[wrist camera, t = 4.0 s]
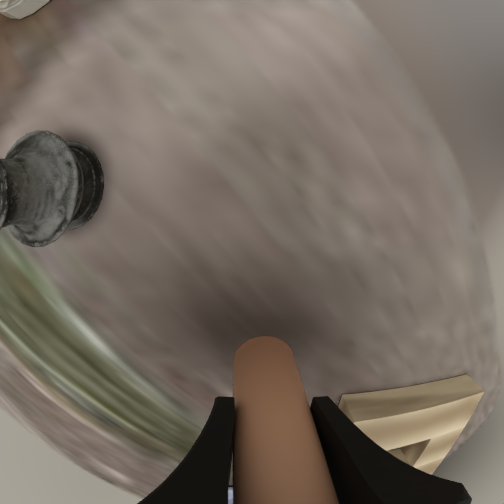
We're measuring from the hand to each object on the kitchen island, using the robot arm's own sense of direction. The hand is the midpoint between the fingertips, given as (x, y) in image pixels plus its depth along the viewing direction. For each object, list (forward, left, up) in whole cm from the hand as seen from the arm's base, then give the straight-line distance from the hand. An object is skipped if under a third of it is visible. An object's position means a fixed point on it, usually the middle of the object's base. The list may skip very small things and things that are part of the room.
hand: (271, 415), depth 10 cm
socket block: (-12, -13, -7) cm, 19 cm away
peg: (0, 0, -4) cm, 4 cm away
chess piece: (+8, +12, -8) cm, 16 cm away
